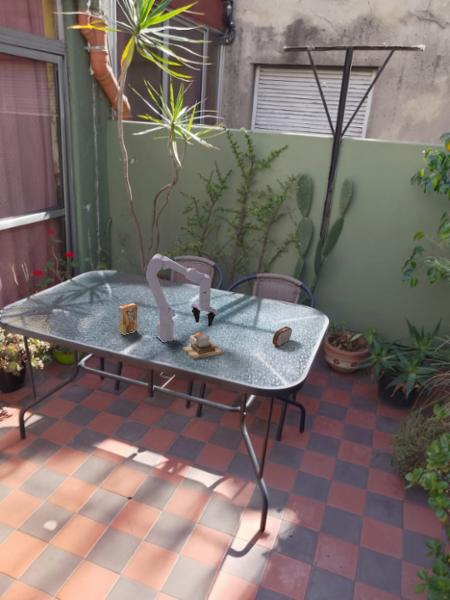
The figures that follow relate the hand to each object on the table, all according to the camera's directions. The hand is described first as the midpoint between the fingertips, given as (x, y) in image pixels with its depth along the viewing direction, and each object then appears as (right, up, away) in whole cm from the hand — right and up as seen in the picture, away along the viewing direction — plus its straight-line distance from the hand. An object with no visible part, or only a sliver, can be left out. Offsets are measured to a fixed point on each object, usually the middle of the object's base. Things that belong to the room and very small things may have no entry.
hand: (203, 324), depth 229 cm
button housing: (-3, -10, +1) cm, 10 cm away
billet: (0, -12, -9) cm, 15 cm away
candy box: (-40, -5, +8) cm, 41 cm away
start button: (-2, -8, 0) cm, 9 cm away
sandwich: (+41, -11, +5) cm, 42 cm away
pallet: (0, -13, -9) cm, 16 cm away
